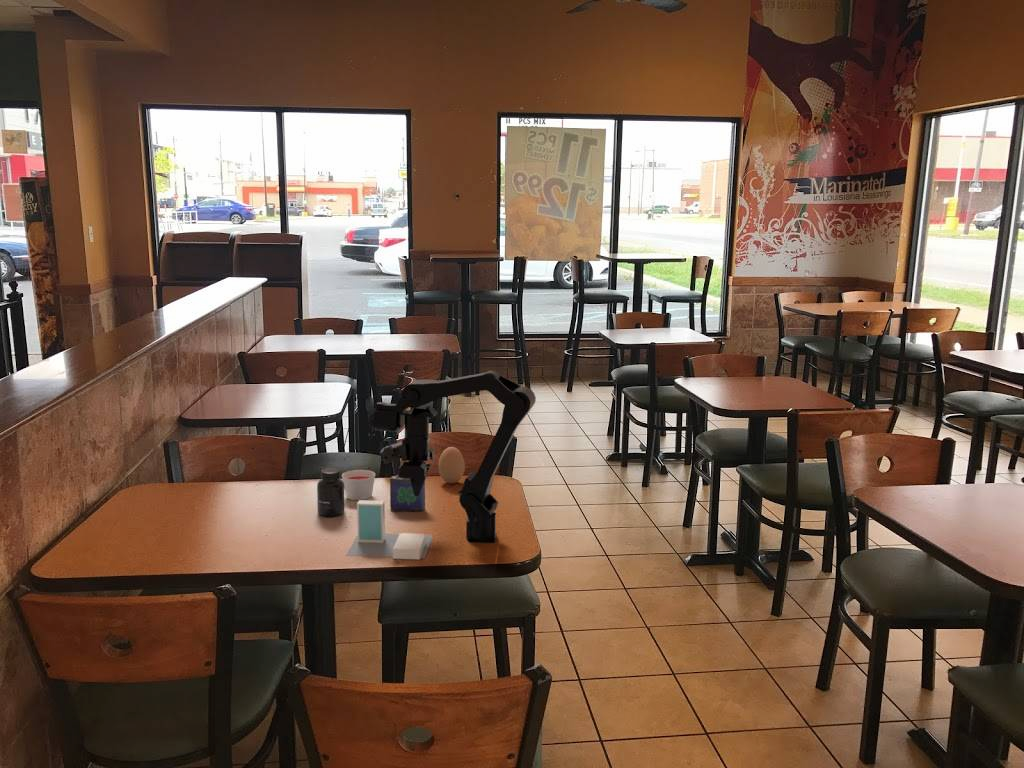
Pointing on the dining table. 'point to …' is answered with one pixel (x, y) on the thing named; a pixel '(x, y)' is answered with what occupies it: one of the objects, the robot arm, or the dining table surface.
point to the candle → (358, 484)
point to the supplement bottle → (330, 494)
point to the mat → (381, 547)
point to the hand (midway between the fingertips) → (416, 495)
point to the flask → (405, 496)
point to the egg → (451, 465)
